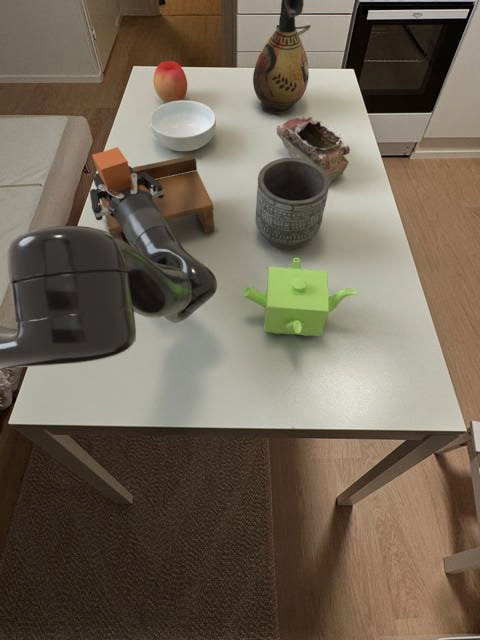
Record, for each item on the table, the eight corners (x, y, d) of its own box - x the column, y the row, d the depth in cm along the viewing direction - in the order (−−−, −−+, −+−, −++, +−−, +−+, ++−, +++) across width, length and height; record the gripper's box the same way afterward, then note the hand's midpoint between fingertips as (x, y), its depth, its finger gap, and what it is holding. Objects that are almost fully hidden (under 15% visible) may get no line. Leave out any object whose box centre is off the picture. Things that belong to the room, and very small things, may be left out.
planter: (328, 228, 95) (342, 173, 82) (297, 267, 88) (308, 214, 76) (275, 204, 99) (281, 148, 86) (242, 240, 92) (243, 185, 80)
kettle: (345, 322, 81) (359, 286, 71) (295, 365, 75) (303, 333, 66) (290, 277, 87) (296, 239, 77) (240, 314, 81) (240, 278, 72)
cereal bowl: (158, 165, 107) (153, 140, 101) (150, 128, 116) (146, 103, 110) (222, 156, 109) (221, 131, 103) (210, 121, 118) (208, 96, 112)
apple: (155, 94, 126) (150, 58, 117) (187, 91, 127) (183, 56, 118) (157, 111, 120) (152, 75, 112) (190, 108, 121) (187, 72, 113)
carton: (117, 220, 84) (101, 169, 74) (108, 205, 86) (92, 154, 76) (140, 211, 86) (127, 161, 76) (131, 197, 88) (117, 146, 78)
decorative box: (302, 197, 100) (308, 162, 92) (262, 152, 110) (264, 117, 102) (347, 181, 104) (356, 146, 96) (303, 139, 114) (309, 104, 106)
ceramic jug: (308, 120, 119) (327, -6, 94) (254, 121, 118) (259, -5, 93) (299, 89, 128) (315, -34, 103) (249, 90, 127) (253, -33, 102)
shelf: (118, 256, 89) (104, 217, 80) (107, 215, 96) (93, 175, 87) (214, 232, 94) (212, 193, 84) (197, 194, 101) (193, 154, 91)
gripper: (178, 196, 72) (141, 145, 80) (100, 224, 68) (68, 167, 76) (183, 227, 79) (148, 177, 87) (111, 255, 75) (81, 200, 83)
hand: (111, 173), depth 81 cm, fingers closed on carton, 5 cm apart
